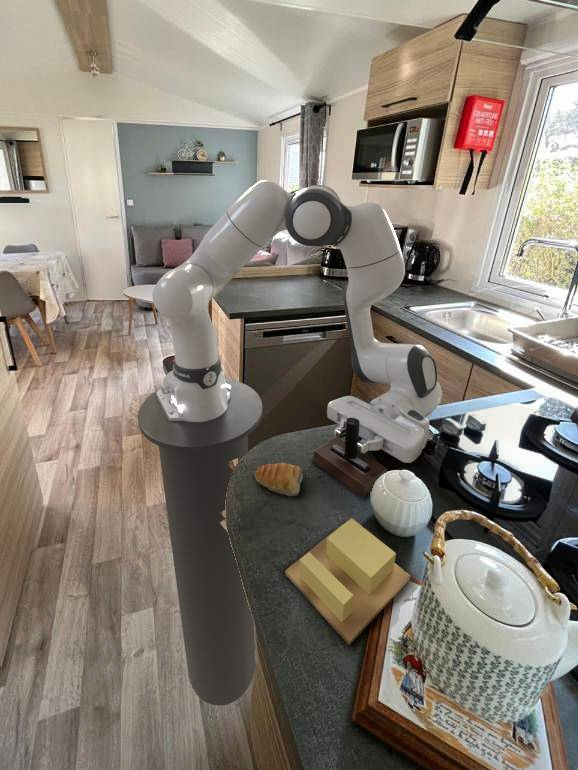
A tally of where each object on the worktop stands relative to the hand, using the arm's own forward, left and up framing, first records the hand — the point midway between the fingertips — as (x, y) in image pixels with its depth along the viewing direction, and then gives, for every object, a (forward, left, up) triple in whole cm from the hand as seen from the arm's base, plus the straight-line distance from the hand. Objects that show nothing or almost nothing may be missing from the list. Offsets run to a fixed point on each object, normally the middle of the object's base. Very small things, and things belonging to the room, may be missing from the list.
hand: (348, 441), depth 74 cm
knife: (0, +1, -8) cm, 8 cm away
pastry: (-6, -12, -8) cm, 16 cm away
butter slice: (+14, -22, -7) cm, 27 cm away
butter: (+14, -14, -7) cm, 21 cm away
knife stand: (0, +1, -8) cm, 8 cm away
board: (+14, -17, -8) cm, 23 cm away
